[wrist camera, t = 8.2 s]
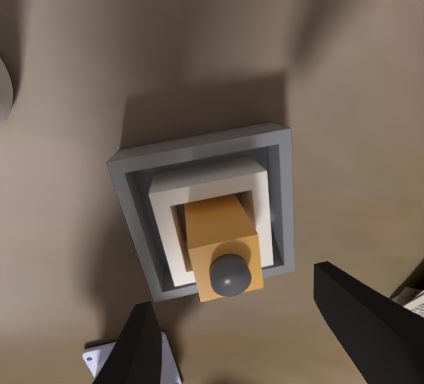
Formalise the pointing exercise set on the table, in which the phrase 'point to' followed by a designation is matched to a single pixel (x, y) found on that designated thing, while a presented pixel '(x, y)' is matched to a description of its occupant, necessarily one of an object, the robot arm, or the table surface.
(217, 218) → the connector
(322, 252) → the table surface
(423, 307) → the newspaper
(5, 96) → the cup
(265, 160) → the walled box
